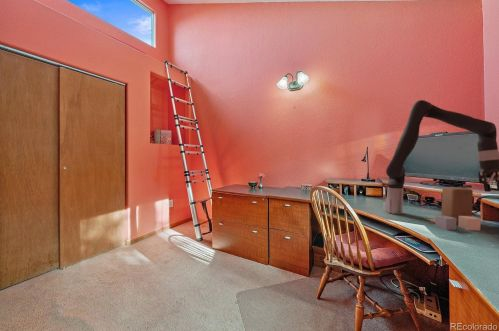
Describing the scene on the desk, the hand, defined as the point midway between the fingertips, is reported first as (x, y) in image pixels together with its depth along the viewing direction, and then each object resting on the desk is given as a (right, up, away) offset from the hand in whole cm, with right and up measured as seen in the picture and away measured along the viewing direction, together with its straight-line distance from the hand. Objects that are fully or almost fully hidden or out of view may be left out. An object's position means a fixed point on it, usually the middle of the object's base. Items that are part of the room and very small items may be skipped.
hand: (494, 190), depth 113 cm
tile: (-15, -20, +18) cm, 31 cm away
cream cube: (-7, -21, +6) cm, 23 cm away
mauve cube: (-19, -21, +7) cm, 29 cm away
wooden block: (-4, -21, +17) cm, 27 cm away
